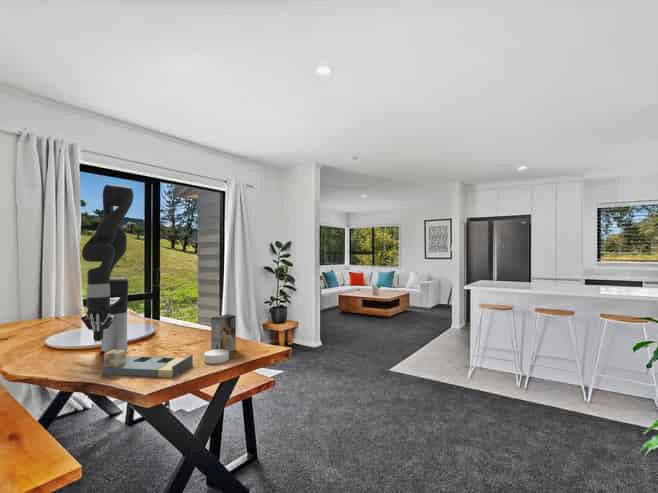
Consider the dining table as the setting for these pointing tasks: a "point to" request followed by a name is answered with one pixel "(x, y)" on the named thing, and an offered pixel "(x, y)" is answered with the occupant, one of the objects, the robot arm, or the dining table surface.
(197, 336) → the dining table surface
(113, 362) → the block
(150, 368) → the box
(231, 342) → the coffee box
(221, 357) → the white ridged round container
